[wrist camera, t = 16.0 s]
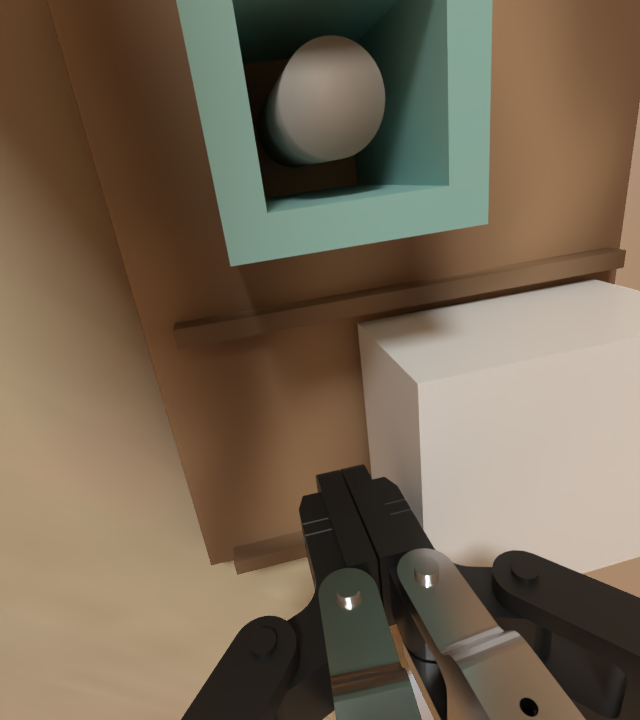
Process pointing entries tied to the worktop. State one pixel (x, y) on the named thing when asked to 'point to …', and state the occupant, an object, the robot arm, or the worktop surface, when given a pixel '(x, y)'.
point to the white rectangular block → (513, 422)
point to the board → (339, 266)
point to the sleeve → (391, 142)
